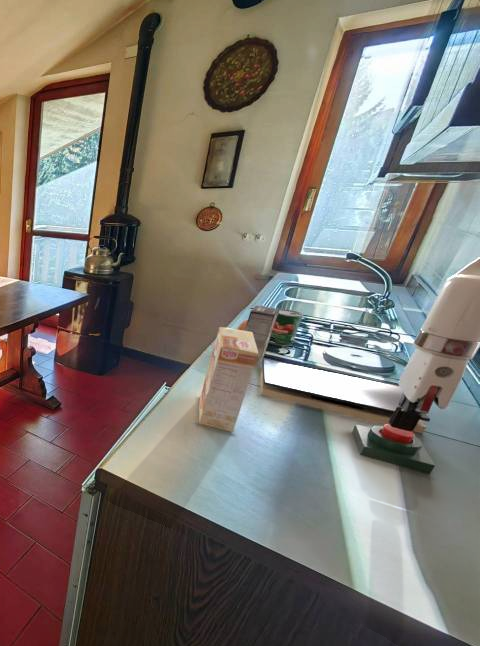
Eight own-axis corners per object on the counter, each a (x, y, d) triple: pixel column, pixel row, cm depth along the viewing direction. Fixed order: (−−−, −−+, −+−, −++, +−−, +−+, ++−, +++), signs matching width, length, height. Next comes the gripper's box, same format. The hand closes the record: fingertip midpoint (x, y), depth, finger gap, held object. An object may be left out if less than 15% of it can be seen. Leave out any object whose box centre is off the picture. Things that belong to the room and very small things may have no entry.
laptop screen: (428, 422, 86) (430, 419, 86) (263, 384, 102) (264, 381, 101) (401, 389, 102) (402, 386, 102) (262, 361, 118) (263, 359, 118)
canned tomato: (267, 344, 136) (277, 314, 131) (262, 336, 142) (272, 307, 138) (294, 347, 133) (306, 317, 128) (289, 340, 139) (299, 310, 135)
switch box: (414, 448, 82) (423, 432, 81) (429, 474, 75) (440, 458, 73) (351, 432, 87) (358, 417, 86) (359, 455, 80) (368, 439, 78)
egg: (256, 344, 135) (264, 319, 132) (253, 349, 131) (262, 324, 127) (233, 339, 139) (241, 315, 136) (230, 344, 135) (238, 319, 131)
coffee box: (241, 350, 130) (255, 304, 124) (264, 356, 126) (280, 308, 120) (235, 359, 124) (250, 310, 117) (259, 364, 120) (276, 315, 113)
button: (407, 436, 80) (411, 428, 79) (413, 446, 77) (417, 439, 76) (378, 428, 82) (381, 421, 82) (383, 439, 79) (386, 431, 78)
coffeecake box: (199, 396, 102) (218, 326, 94) (231, 403, 99) (254, 331, 91) (197, 424, 90) (219, 346, 82) (233, 433, 87) (260, 353, 79)
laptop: (422, 433, 87) (426, 426, 86) (260, 394, 103) (262, 388, 102) (397, 395, 103) (401, 389, 102) (260, 366, 119) (262, 361, 118)
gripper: (495, 362, 64) (439, 453, 71) (460, 336, 75) (415, 417, 82) (429, 352, 68) (383, 439, 75) (405, 328, 79) (367, 406, 86)
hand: (400, 427), depth 79 cm, fingers closed
